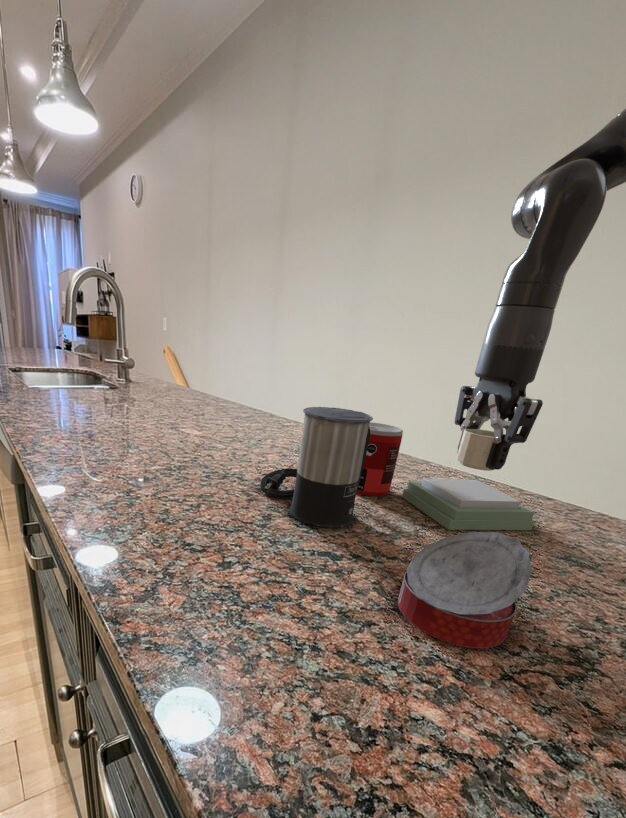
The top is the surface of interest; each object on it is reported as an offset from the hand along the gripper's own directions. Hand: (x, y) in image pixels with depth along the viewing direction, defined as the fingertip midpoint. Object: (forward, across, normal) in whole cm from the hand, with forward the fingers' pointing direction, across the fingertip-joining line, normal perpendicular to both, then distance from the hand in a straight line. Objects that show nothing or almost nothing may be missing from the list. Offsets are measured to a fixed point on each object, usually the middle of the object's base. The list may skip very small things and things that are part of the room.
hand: (477, 461), depth 67 cm
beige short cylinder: (+1, 0, 0) cm, 1 cm away
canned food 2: (+9, -26, +20) cm, 34 cm away
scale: (+8, 0, 0) cm, 8 cm away
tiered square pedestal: (+6, 0, 0) cm, 6 cm away
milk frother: (+9, +2, +26) cm, 27 cm away
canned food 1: (+9, +10, +12) cm, 18 cm away
